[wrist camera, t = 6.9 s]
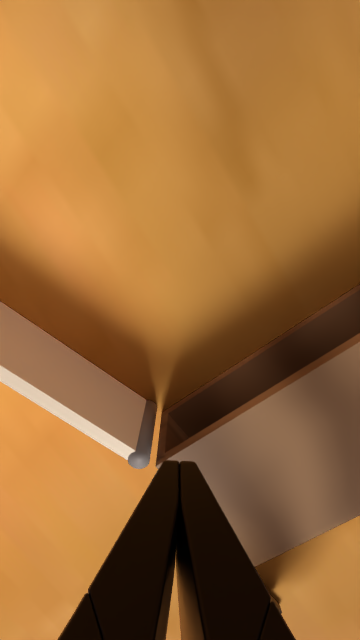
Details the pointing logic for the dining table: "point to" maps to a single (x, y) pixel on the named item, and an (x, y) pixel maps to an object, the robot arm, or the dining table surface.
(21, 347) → the door
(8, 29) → the dining table surface
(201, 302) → the dining table surface
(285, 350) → the walnut box
